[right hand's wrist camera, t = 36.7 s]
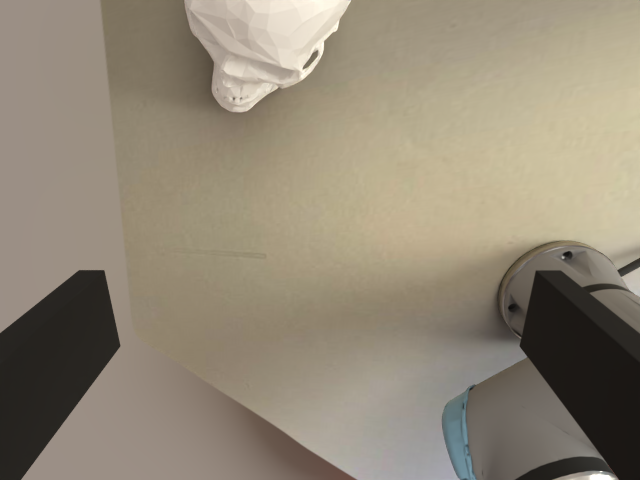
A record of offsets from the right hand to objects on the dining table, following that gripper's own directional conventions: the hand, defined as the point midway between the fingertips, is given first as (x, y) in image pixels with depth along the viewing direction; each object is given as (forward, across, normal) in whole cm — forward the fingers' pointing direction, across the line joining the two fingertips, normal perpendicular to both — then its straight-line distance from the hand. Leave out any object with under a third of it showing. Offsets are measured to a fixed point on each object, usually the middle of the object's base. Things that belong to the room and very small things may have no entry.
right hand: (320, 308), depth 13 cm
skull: (+39, +5, -13) cm, 42 cm away
